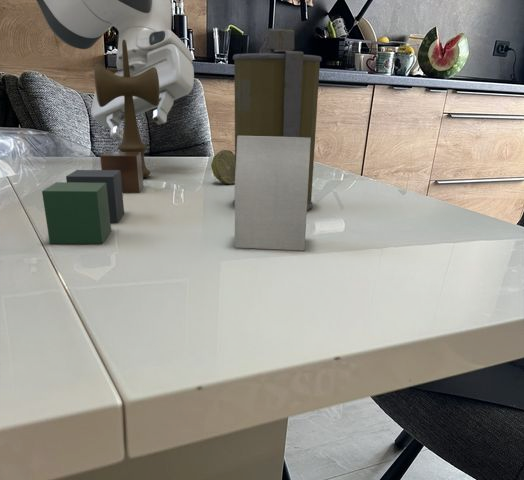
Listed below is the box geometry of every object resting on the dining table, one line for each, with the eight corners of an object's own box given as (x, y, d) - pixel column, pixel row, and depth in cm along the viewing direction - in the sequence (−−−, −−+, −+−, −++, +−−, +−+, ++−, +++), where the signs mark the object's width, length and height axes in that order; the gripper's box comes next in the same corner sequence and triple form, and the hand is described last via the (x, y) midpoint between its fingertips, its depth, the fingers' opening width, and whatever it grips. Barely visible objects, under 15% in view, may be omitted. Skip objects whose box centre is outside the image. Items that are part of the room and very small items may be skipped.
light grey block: (304, 250, 53) (310, 139, 48) (234, 247, 53) (234, 137, 49) (305, 240, 56) (310, 136, 52) (239, 238, 56) (239, 134, 52)
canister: (224, 199, 75) (222, 31, 66) (295, 196, 78) (302, 35, 69) (247, 216, 66) (249, 23, 57) (326, 212, 69) (340, 28, 60)
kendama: (105, 175, 92) (91, 39, 84) (163, 174, 94) (155, 41, 86) (104, 180, 87) (89, 36, 78) (165, 179, 89) (157, 39, 80)
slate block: (72, 222, 61) (65, 176, 59) (82, 213, 65) (76, 169, 63) (117, 222, 61) (113, 176, 59) (124, 213, 66) (120, 170, 64)
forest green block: (49, 243, 53) (41, 190, 51) (62, 231, 57) (55, 182, 55) (102, 243, 53) (96, 191, 51) (111, 231, 58) (106, 182, 56)
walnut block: (103, 192, 78) (100, 155, 76) (110, 186, 82) (106, 151, 80) (139, 192, 78) (136, 155, 76) (143, 186, 83) (141, 152, 81)
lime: (243, 181, 89) (243, 149, 87) (235, 186, 85) (235, 152, 83) (216, 180, 90) (216, 148, 88) (207, 184, 86) (206, 151, 83)
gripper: (86, 70, 97) (79, 138, 94) (177, 25, 88) (173, 99, 84) (112, 92, 103) (105, 157, 99) (200, 52, 93) (197, 122, 90)
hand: (137, 130), depth 92 cm, fingers open, 8 cm apart
